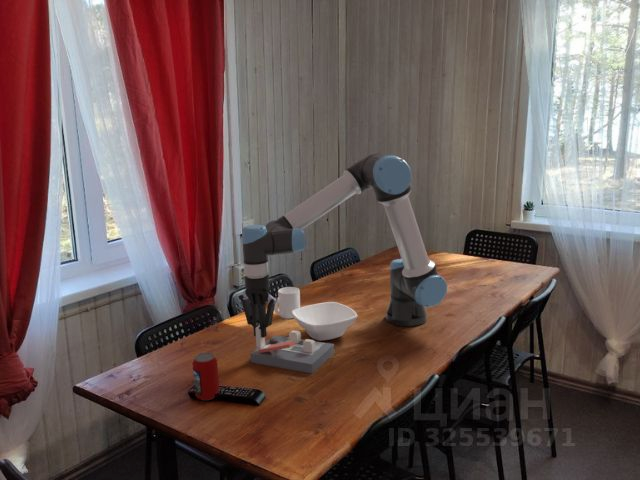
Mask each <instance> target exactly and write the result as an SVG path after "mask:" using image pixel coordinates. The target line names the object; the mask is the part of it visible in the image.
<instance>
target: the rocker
mask: <svg viewBox="0 0 640 480" xmlns="http://www.w3.org/2000/svg"><path fill="white" fill-rule="evenodd" d="M294 344H295V341H294V340H293V341H288V342H282V343H277V344H272V345H271V344H270V345H265V346H263V347H262V348H260V349H259V350H258V352H259V353H263V352H268V351H274V350H279V349H285V348H290V347H291V346H292V345H294Z"/></svg>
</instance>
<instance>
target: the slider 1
mask: <svg viewBox="0 0 640 480" xmlns="http://www.w3.org/2000/svg"><path fill="white" fill-rule="evenodd" d="M288 337H289V340H290V341H293V340H294V341H295V343H299V342H300V341H301V339H302V333H301V331H299V330H291V331H290V332H289V333H288Z"/></svg>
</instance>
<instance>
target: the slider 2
mask: <svg viewBox="0 0 640 480" xmlns="http://www.w3.org/2000/svg"><path fill="white" fill-rule="evenodd" d="M304 340H305V341H304V342H303V351H304V352H310V353H312V352H313V351H315V341H316V340H315V339H308V338H306V339H304Z"/></svg>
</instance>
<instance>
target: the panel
mask: <svg viewBox="0 0 640 480" xmlns="http://www.w3.org/2000/svg"><path fill="white" fill-rule="evenodd" d="M305 340H306V339H304V338H303V339H302V338H301V341H300V342H299V343H295V344H294V345H292V346H291V347H290V348H285V349H279V350H274V351H268V352H263V353H259V352H258V350H259V349H260V348H258V347H256V349H254V350H253V351H252V352H250V355H249V356H250V363H251V364H257V365H263V366H264V365H265V366H269V367H270V366H271V367H276V368H279V369H280V368H281V369H286V370H292V371H295V372H296V371H298V372H303V373H308V374H314V373H315V372H316V371H317V370H318V369H319V368H320V367H321V366H322V365H324V363H326V361H327V360H329V359H330V358H331V357H332V356H333V355H334V354H335V344H334V343H330V342H322V341H318V340H314V341H315V351H313V352H312V353H310V352H304V351H303V342H304V341H305ZM288 341H290V340H289V336H283V335H276V334H275V335H273V336H272V337H270V338H269V339H268V340H266V341H265V345H270V344H271V345H272V344H277V343H282V342H288ZM265 345H264V346H265Z"/></svg>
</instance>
